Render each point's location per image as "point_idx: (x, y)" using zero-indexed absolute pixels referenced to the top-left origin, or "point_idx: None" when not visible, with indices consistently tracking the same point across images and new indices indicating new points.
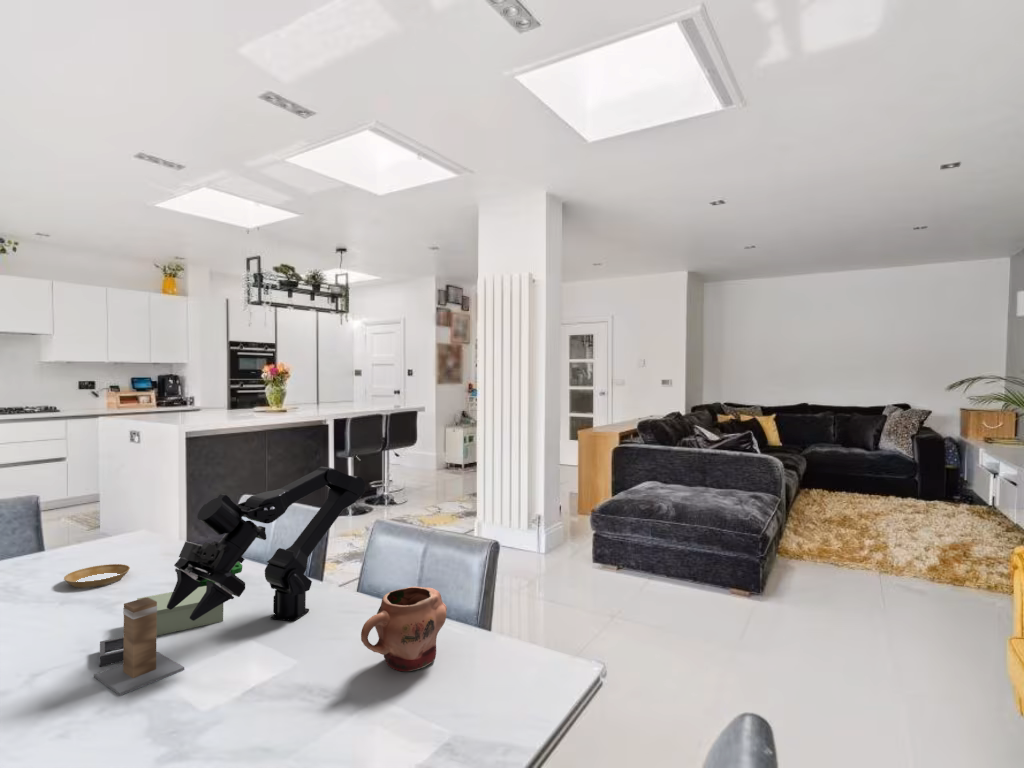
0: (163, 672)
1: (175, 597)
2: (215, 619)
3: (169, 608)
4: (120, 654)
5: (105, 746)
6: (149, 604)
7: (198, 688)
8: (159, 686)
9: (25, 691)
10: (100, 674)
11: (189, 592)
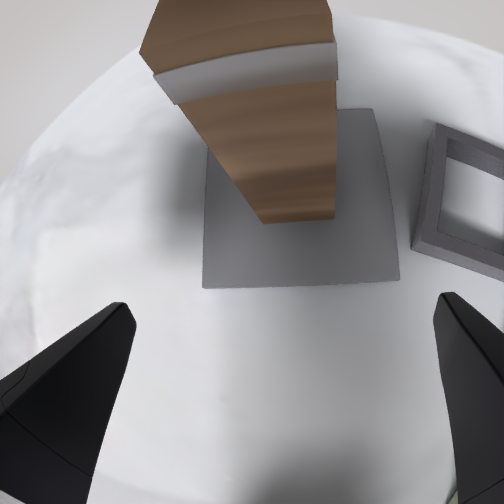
0: (221, 230)
1: (468, 362)
2: (456, 501)
3: (437, 309)
4: (429, 172)
5: (90, 102)
6: (153, 24)
7: (96, 263)
8: (175, 204)
9: (396, 35)
10: (358, 116)
11: (462, 479)
